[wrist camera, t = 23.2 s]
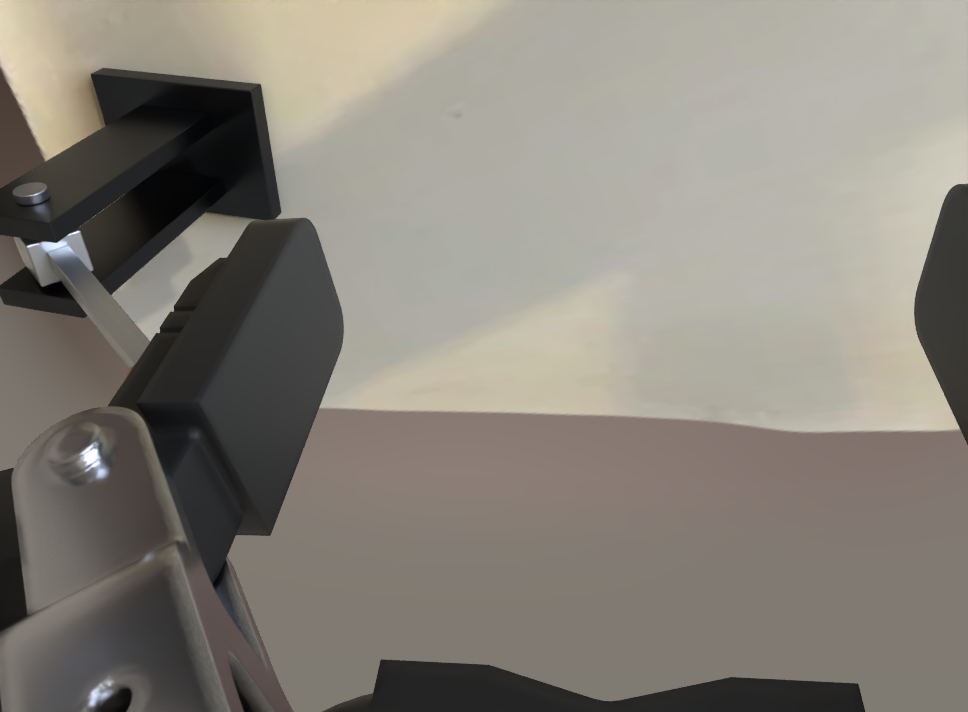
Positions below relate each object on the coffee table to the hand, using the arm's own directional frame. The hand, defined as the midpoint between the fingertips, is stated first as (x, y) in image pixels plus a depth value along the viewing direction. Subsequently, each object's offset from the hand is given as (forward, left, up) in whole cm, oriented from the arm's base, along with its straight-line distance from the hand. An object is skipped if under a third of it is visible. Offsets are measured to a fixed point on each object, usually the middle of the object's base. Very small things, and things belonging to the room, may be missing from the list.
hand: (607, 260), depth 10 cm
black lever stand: (+1, -30, -30) cm, 42 cm away
